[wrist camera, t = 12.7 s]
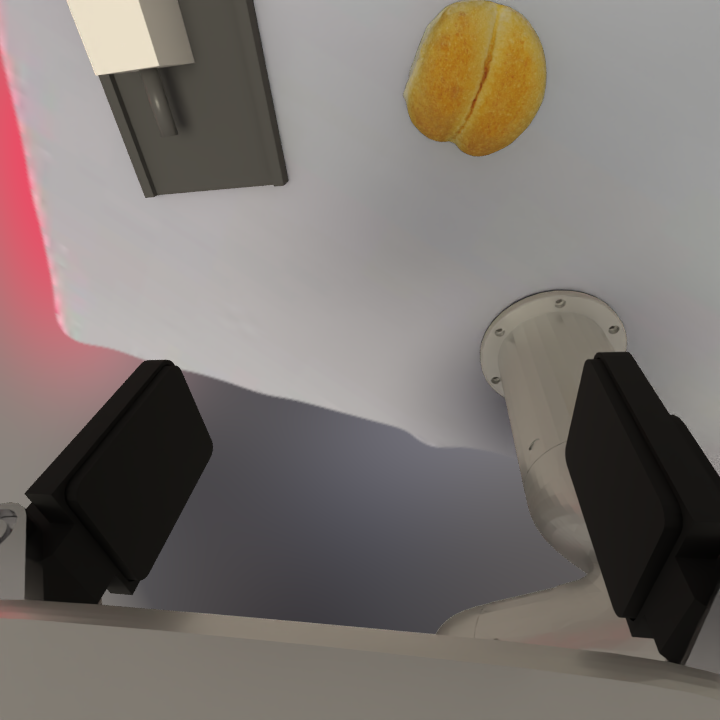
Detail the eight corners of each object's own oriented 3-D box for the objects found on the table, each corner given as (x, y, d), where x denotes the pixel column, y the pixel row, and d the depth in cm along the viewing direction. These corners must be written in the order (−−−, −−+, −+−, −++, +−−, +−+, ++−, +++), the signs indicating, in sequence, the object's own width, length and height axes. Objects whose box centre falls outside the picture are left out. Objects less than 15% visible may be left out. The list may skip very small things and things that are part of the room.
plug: (212, 126, 33) (182, 138, 29) (159, 132, 34) (122, 145, 30) (147, -108, 26) (95, -136, 22) (82, -94, 27) (20, -117, 23)
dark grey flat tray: (288, 180, 35) (283, 185, 34) (153, 193, 37) (145, 197, 36) (212, -203, 24) (202, -215, 23) (24, -155, 26) (6, -164, 25)
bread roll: (504, 165, 33) (511, 179, 30) (393, 120, 32) (389, 129, 29) (570, 36, 28) (588, 36, 25) (441, -22, 27) (443, -30, 24)
